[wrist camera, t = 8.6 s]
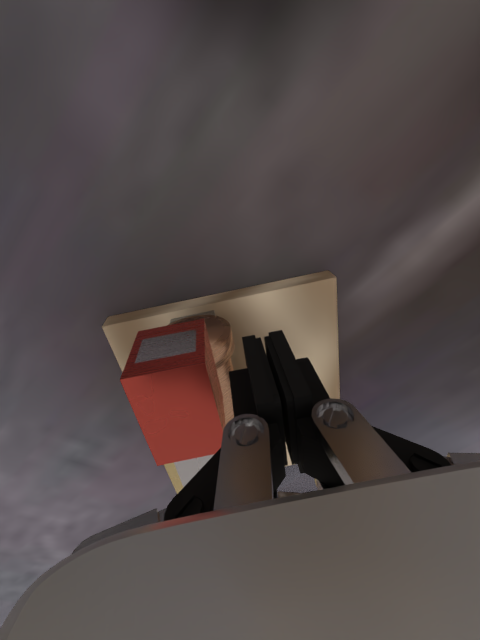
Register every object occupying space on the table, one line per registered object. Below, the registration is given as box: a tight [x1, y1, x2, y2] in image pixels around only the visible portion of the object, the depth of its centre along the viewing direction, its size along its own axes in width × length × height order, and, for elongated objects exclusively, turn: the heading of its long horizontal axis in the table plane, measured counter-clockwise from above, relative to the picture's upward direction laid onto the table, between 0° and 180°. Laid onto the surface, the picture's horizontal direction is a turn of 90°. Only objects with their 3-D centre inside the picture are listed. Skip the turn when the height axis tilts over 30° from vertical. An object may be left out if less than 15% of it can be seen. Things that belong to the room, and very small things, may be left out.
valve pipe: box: [164, 310, 235, 494], centre depth 21 cm, size 6×18×7 cm, turn 10°
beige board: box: [102, 270, 340, 466], centre depth 25 cm, size 16×18×2 cm
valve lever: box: [120, 319, 226, 487], centre depth 14 cm, size 13×3×4 cm, turn 9°
